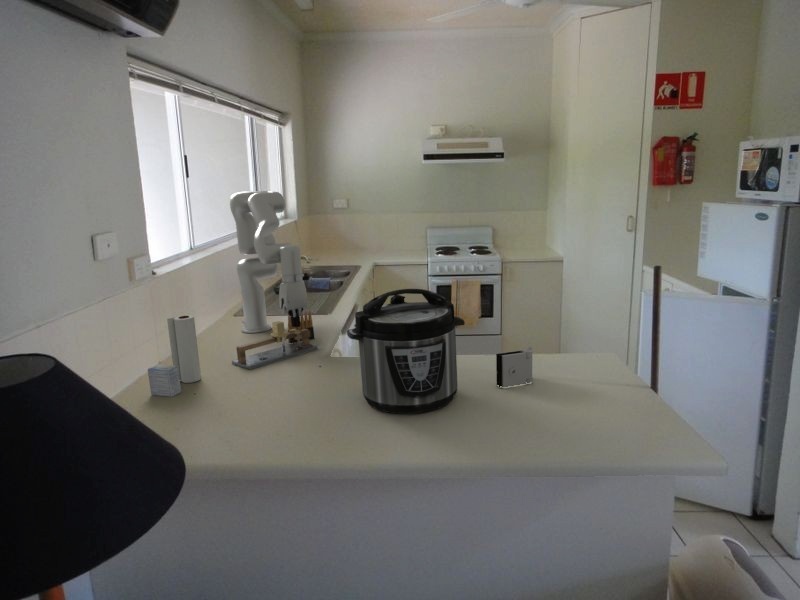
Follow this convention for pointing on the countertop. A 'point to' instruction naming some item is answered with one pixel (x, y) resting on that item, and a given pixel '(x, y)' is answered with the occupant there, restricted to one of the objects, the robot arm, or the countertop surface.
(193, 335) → the paper towel roll
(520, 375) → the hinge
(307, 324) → the ammunition clip
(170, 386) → the pale blue-grey upright block
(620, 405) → the countertop surface
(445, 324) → the pressure cooker
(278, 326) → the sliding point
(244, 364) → the bolt-hole plate
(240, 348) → the bar
